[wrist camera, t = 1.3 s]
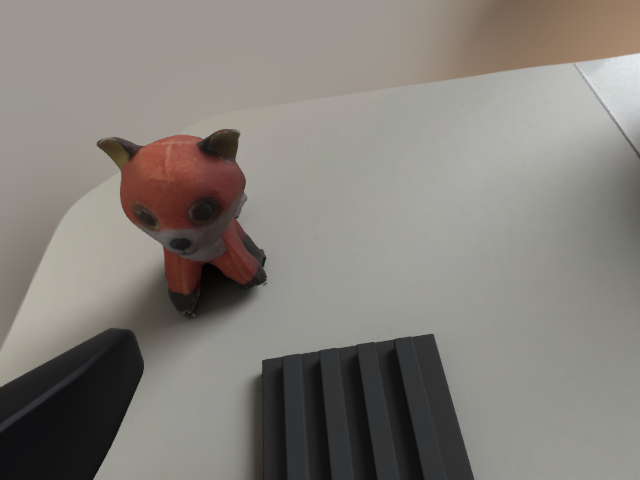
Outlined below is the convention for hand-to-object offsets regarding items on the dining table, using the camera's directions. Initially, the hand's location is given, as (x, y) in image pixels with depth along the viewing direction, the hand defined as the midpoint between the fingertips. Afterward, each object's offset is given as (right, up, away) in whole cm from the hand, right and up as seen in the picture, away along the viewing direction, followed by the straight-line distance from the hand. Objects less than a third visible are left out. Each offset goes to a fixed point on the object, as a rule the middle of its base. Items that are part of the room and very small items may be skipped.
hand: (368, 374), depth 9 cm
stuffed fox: (-7, +1, +29) cm, 29 cm away
